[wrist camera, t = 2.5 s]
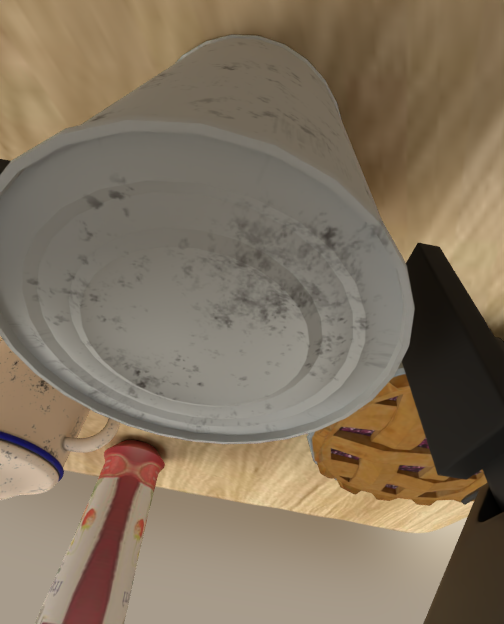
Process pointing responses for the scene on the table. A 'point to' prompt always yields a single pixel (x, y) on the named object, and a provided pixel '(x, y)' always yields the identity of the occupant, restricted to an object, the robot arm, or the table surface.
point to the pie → (386, 451)
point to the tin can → (206, 255)
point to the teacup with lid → (38, 429)
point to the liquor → (106, 541)
